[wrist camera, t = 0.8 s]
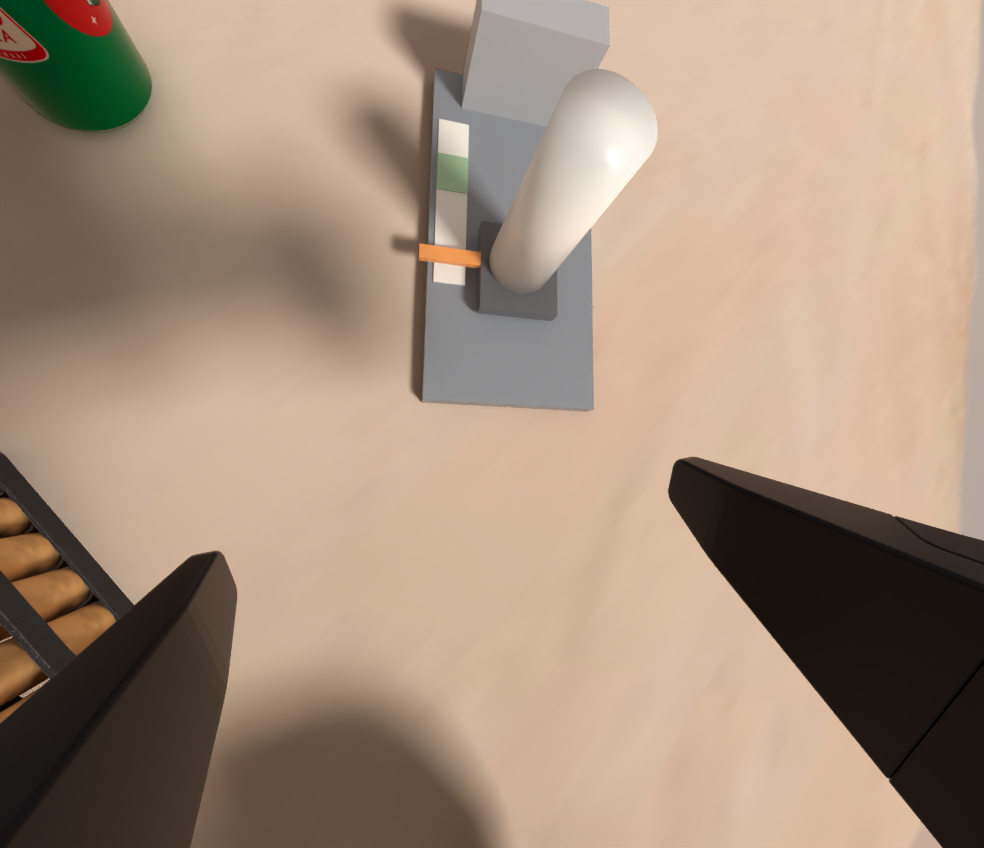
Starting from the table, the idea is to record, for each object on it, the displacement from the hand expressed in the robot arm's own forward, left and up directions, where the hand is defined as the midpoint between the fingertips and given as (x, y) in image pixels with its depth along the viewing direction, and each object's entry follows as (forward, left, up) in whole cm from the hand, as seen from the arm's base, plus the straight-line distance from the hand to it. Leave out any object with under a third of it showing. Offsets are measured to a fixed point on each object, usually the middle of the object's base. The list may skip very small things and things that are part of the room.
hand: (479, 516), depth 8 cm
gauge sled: (+6, -10, -12) cm, 16 cm away
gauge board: (+7, -12, -13) cm, 19 cm away
